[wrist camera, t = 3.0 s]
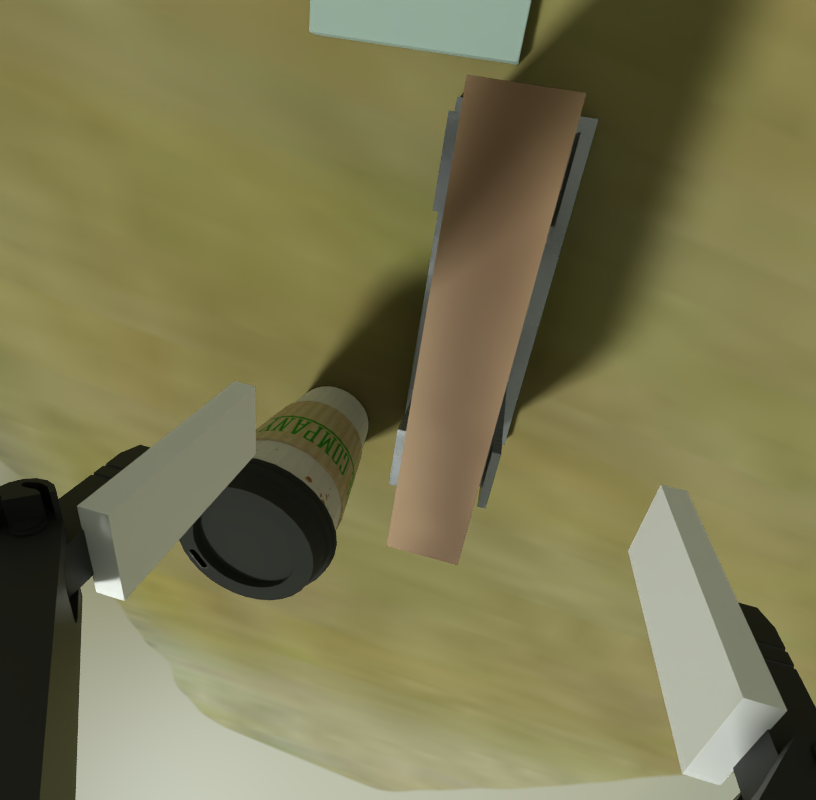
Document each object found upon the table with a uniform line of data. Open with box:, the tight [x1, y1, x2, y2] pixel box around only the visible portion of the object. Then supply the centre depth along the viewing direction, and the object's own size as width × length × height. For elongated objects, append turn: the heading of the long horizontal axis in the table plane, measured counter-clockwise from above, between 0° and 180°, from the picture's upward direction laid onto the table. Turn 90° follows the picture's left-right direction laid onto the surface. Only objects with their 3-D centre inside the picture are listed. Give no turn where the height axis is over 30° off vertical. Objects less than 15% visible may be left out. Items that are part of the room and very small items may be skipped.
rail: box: [387, 75, 586, 565], centre depth 24 cm, size 4×22×6 cm, turn 172°
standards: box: [389, 97, 599, 508], centre depth 30 cm, size 8×22×10 cm, turn 172°
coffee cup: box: [179, 386, 368, 600], centre depth 35 cm, size 10×10×15 cm
